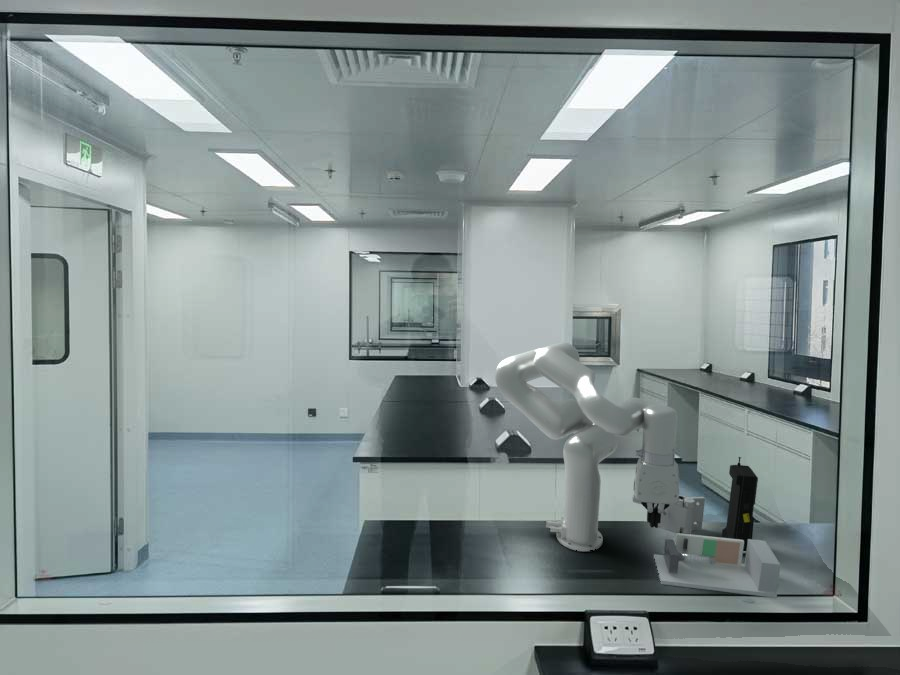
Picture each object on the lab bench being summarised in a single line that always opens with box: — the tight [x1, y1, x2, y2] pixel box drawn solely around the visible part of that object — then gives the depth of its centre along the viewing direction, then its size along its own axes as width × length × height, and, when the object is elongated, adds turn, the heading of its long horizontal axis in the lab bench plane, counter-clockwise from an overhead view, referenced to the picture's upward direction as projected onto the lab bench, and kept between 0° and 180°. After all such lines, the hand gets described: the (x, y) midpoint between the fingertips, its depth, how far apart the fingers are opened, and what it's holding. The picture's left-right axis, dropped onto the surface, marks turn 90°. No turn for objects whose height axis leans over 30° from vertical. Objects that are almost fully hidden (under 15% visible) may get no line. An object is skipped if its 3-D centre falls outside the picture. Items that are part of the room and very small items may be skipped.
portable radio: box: [721, 456, 759, 551], centre depth 148 cm, size 8×6×25 cm
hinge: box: [652, 494, 706, 535], centre depth 159 cm, size 14×5×10 cm, turn 69°
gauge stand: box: [653, 532, 781, 599], centre depth 137 cm, size 26×11×8 cm, turn 79°
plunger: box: [663, 538, 715, 574], centre depth 138 cm, size 11×7×6 cm, turn 79°
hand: (653, 524), depth 138 cm, fingers closed
